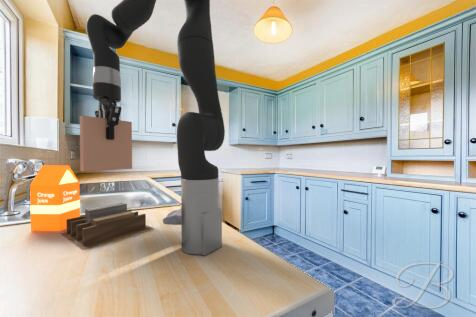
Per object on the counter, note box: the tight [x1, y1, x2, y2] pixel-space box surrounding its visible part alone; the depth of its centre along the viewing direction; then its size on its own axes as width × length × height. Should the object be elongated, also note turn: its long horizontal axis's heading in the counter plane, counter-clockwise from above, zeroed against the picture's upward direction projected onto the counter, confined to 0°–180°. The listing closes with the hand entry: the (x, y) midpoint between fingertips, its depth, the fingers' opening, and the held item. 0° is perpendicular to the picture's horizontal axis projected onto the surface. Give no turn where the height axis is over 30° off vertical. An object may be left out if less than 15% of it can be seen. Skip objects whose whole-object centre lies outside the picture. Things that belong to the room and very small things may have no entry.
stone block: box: [162, 208, 181, 225], centre depth 72 cm, size 12×5×10 cm
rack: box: [59, 209, 155, 251], centre depth 60 cm, size 18×18×5 cm
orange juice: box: [29, 165, 81, 232], centre depth 64 cm, size 8×9×20 cm
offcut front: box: [91, 210, 135, 226], centre depth 58 cm, size 3×10×5 cm, turn 144°
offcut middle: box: [84, 202, 128, 223], centre depth 61 cm, size 3×10×7 cm, turn 144°
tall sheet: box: [79, 115, 133, 172], centre depth 66 cm, size 2×14×16 cm, turn 144°
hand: (107, 139), depth 66 cm, fingers closed on tall sheet, 2 cm apart
